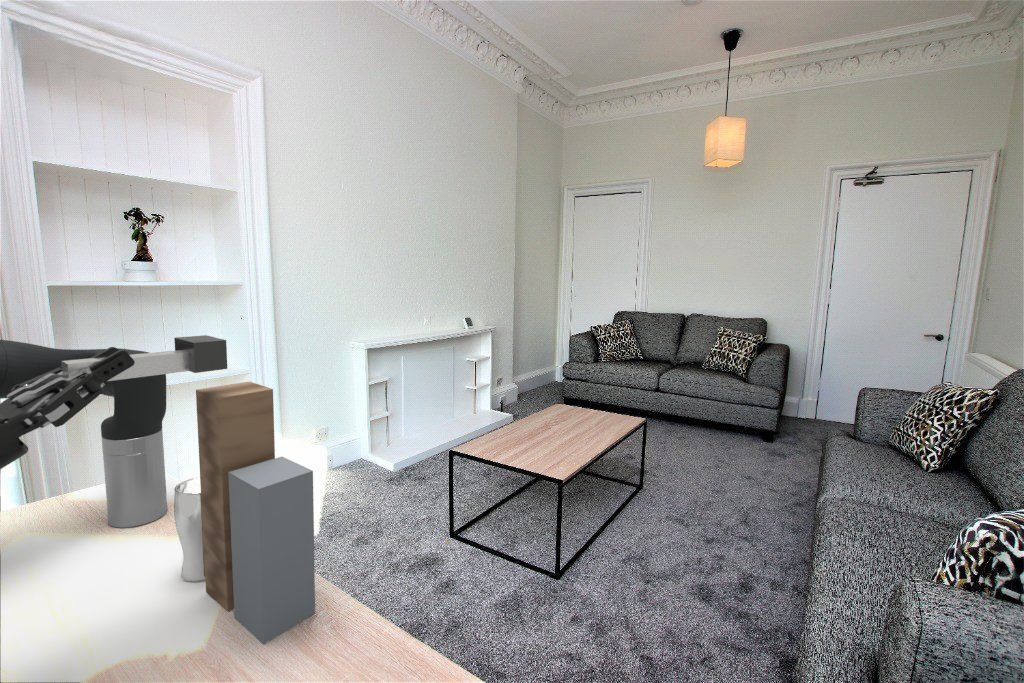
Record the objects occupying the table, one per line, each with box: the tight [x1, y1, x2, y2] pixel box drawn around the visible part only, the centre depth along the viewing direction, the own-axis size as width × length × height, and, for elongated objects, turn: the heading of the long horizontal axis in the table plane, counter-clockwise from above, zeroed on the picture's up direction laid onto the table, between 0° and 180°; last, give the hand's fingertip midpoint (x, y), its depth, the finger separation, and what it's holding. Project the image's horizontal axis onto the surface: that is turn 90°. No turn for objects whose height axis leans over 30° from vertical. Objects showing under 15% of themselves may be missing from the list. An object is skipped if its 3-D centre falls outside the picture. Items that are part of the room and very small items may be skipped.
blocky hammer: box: [61, 334, 228, 381], centre depth 61 cm, size 6×16×4 cm, turn 145°
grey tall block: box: [228, 456, 316, 645], centre depth 68 cm, size 8×8×22 cm
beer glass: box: [173, 476, 205, 583], centre depth 78 cm, size 7×7×15 cm
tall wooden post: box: [195, 381, 276, 613], centre depth 73 cm, size 7×8×32 cm
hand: (124, 354), depth 59 cm, fingers closed on blocky hammer, 2 cm apart
